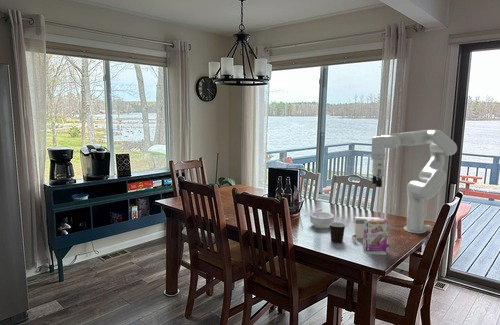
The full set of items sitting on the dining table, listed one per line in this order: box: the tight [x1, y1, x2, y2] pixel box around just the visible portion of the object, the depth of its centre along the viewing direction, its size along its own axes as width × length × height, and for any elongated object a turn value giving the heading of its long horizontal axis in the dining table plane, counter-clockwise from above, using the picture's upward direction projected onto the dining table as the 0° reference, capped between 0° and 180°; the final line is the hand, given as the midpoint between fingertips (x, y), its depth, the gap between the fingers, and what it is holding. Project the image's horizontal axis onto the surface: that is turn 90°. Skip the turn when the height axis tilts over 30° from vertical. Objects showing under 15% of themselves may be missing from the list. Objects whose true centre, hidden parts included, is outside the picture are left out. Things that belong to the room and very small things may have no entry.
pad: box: [364, 250, 387, 256], centre depth 180 cm, size 10×10×1 cm
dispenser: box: [351, 216, 389, 245], centre depth 195 cm, size 18×12×12 cm, turn 82°
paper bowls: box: [309, 211, 335, 230], centre depth 221 cm, size 15×15×8 cm
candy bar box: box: [362, 218, 389, 252], centre depth 179 cm, size 11×5×16 cm, turn 93°
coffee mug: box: [329, 221, 346, 244], centre depth 192 cm, size 12×9×10 cm
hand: (376, 185), depth 202 cm, fingers open, 9 cm apart
